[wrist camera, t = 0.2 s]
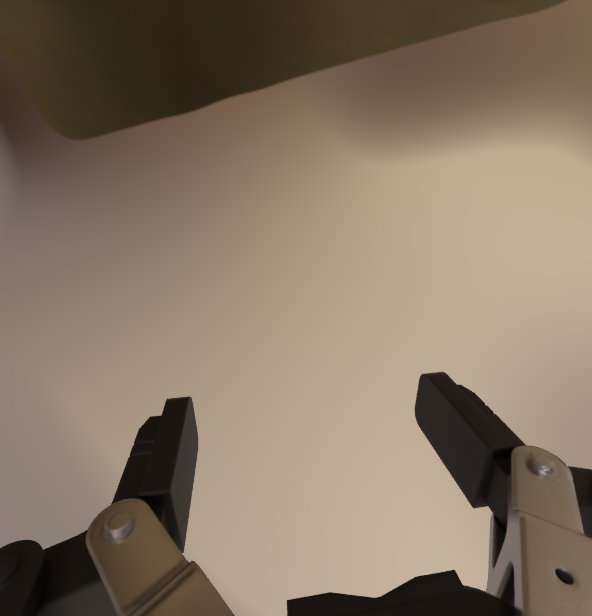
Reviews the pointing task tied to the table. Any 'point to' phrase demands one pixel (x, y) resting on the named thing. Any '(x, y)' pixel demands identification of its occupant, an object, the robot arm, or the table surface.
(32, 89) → the table surface
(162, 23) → the table surface
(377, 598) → the robot arm
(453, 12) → the table surface
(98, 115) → the table surface
